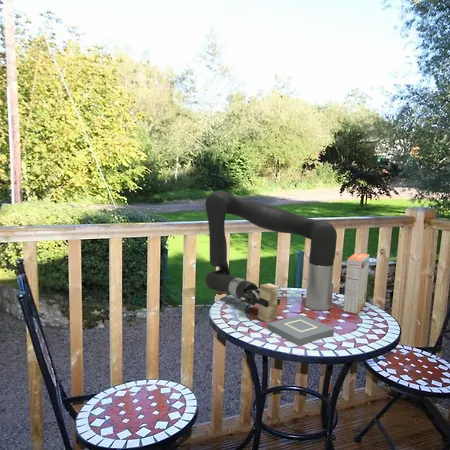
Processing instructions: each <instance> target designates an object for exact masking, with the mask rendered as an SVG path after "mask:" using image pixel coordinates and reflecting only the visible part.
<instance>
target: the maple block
mask: <svg viewBox="0 0 450 450" xmlns="http://www.w3.org/2000/svg"><path fill="white" fill-rule="evenodd" d="M259 289H260V295H259V297H261V298H263V299H265V300H267V301H269V307H264V306H262V305H258V311H257V313H258V314H257V319H260V320H262V321H263V322H265V323H271V322H275V321H277V313H278V305H277V300H278V298H279V286H278V285H276V284H272V283H270V282H269V283H264V284H260V285H259Z"/></svg>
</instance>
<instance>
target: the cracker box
mask: <svg viewBox="0 0 450 450" xmlns="http://www.w3.org/2000/svg"><path fill="white" fill-rule="evenodd" d="M369 266H370V254H368V253H363V252H355V253H353V254H352V255H351V256H349V257H347V260H346V271H345V272H346V273H345V285H344V298H343V310H342V311H343V313H350V314H353V315H359V314H360V312H361V311H362V310H363V308H364V307H365V306H366V300H367V292H368V291H367V290H368V289H367V287H368V279H369V276H368V275H369V268H370V267H369Z"/></svg>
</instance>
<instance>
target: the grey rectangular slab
mask: <svg viewBox="0 0 450 450" xmlns="http://www.w3.org/2000/svg"><path fill="white" fill-rule="evenodd" d="M267 330H269V331H270V332H272V333H274V334H275V335H278V336H279V337H281V338H284V339H285V340H287V341H289V342H292V343H293V344H295V345H297V346H301V345H305V344H308V343H311V342H315V341H317V340H320V339H325V338H327V337H330V336H334V335H335V334H334V333H335V329H334V328H333V327H330V326H328V325H326V324H324V323H322V322H319V321H317V320H314V319H312V318H310V317H308V316H305V315H303V314H302V315H301V314H300V315H297V316H292V317H288V318H284V319H280V320H275V321H270V322H267ZM324 337H325V338H324Z"/></svg>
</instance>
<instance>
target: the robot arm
mask: <svg viewBox="0 0 450 450" xmlns="http://www.w3.org/2000/svg"><path fill="white" fill-rule="evenodd" d="M205 210H206V217H207V223H208V232H209V264H210V265H211V266H212V267H215V268H218V270H214V271H210V272H208V273H207V274H206V276H205V278H204V279H205V280H204V281H205V284H206V286H207V287H208V288H209V289H210V290H213V291H217V292H224V293H227V294H229V295H230V296H231V295H232V297H234V298H236V299H238V300H240V302H241V303H245V304H249V305H251V306H255V305H258V306H259V305H262V306H264V307H269V301H267V300H265V299H263V298H261V297H259V295H260V288H258V285H256V283H254V282H251V281H249V280H246V279H244V278H241V277H240V278H239V277H237V276H236V275H235V276H234V275H231V271H230V267H229V264H228V263H229V262H228V246H227V245H228V244H227V238H226V233H225V231H226V230H225V229H226V228H225V221H226V217H227V215H233V216H237V217H239V218H242V219H244V220H245V221H247V222H249V223H250V224H252V225H254V226H257V227H259V228H261V229H263V230H268V231H270V232H271V231H272V232H276V233H282V234H290V235H296V236H301V237H303V238H305V239H309V240H310V249H309V251H310V252H309V258H308V271H307V279H306V280H307V281H306V283H307V284H306V294H305V307H306V308H308V309H310V310H314V311H321V312H322V311H324V312H325V311H328V310H330V309H331V308H332V305H333V304H332V303H333V291H334V283H333V275H334V263H335V259H336V252H337V250H336V249H337V242H338V241H337V238H338V235H337V230H336V227H334V225H333V224H332V223H330V222H329V221H325V220H321V219H320V220H319V219H313V218H308V217H303V216H301V215H298V214H296V213H294V212H291V211H288V210H285V209H283V208H279V207H276V206H273V205H269V204H265V203H262V202H258V201H252V200H250V199H249V200H247V199H245V198H241V197H239V196H236V195H234V194H231V193H229V192H226V191H225V190H224V191H223V190H215V191H214V192H212V193H211V194H209V195H208V196H207V198H206V199H205ZM280 302H281V299H280V298H279V297H278V300H277V306H279V305H281V303H280Z"/></svg>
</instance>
